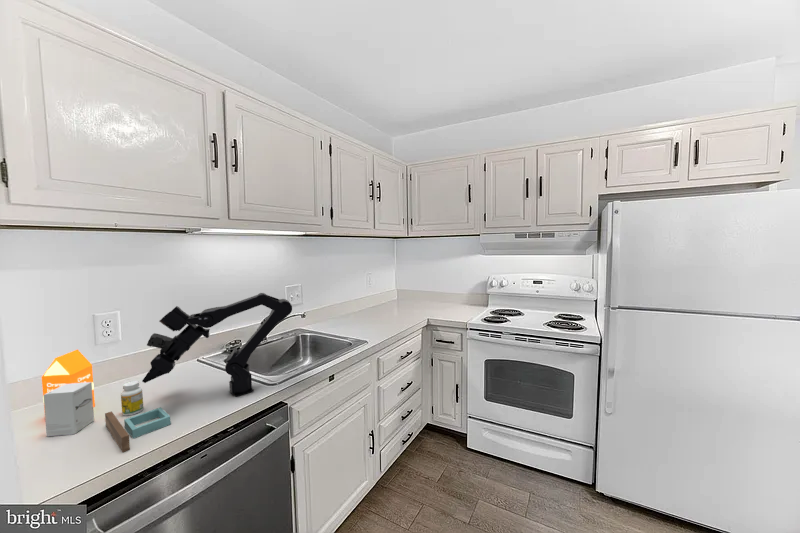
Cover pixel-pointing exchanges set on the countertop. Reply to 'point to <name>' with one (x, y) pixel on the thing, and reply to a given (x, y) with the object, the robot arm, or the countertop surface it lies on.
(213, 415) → the countertop surface
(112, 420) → the wall
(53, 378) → the orange juice
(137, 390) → the supplement bottle
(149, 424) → the socket block
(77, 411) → the supplement box
